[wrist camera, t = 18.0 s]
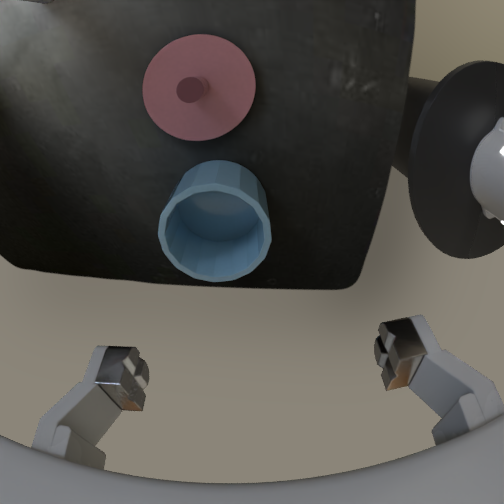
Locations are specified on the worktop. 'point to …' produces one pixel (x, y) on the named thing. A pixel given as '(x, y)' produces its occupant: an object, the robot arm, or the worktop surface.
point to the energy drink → (40, 1)
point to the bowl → (216, 222)
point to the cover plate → (220, 95)
